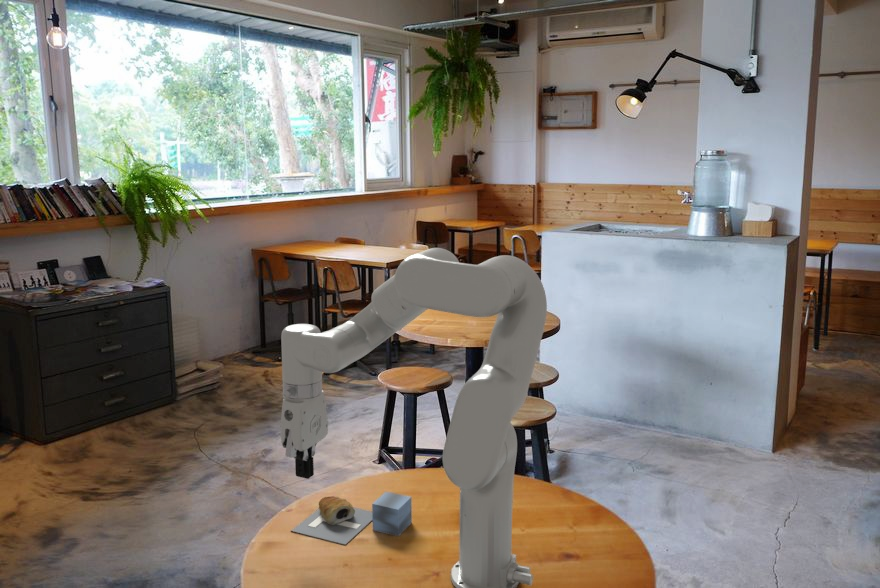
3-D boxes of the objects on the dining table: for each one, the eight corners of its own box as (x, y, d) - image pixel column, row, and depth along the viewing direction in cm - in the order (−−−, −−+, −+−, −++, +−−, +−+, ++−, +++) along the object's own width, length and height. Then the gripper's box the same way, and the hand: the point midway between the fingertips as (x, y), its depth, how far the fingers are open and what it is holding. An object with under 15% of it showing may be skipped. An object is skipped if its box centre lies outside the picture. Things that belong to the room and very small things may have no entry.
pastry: (311, 509, 166) (310, 492, 165) (339, 501, 170) (338, 485, 169) (329, 527, 158) (329, 510, 158) (358, 518, 162) (358, 502, 161)
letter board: (379, 513, 165) (379, 512, 164) (345, 545, 152) (345, 543, 152) (327, 502, 170) (327, 500, 170) (291, 531, 157) (291, 530, 157)
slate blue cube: (411, 523, 161) (411, 496, 160) (398, 536, 156) (398, 509, 154) (386, 517, 163) (386, 491, 162) (372, 530, 158) (372, 503, 157)
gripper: (296, 403, 140) (298, 495, 144) (339, 379, 153) (340, 465, 157) (262, 397, 143) (266, 487, 147) (308, 374, 156) (309, 458, 160)
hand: (304, 475), depth 152 cm, fingers closed
